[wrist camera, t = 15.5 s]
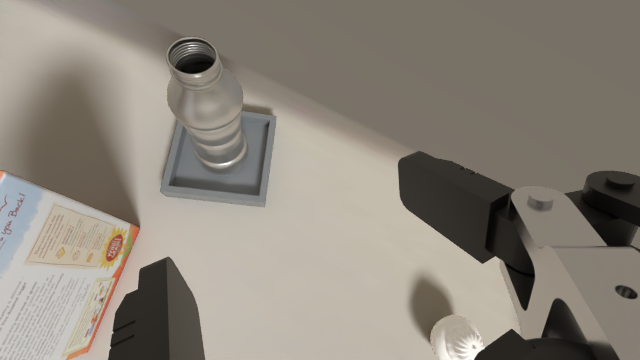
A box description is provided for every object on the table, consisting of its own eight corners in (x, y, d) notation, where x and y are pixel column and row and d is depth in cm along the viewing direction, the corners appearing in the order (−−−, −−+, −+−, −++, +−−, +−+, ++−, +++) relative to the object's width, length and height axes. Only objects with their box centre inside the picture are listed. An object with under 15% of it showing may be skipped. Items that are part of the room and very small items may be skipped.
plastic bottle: (195, 139, 42) (139, 23, 23) (246, 132, 43) (232, 19, 24) (201, 183, 40) (145, 97, 21) (253, 175, 41) (244, 88, 23)
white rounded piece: (416, 359, 38) (448, 375, 32) (421, 307, 40) (452, 312, 34) (462, 369, 39) (502, 387, 32) (464, 317, 41) (502, 324, 34)
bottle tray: (165, 196, 39) (159, 191, 37) (186, 111, 43) (182, 101, 41) (264, 207, 41) (264, 202, 39) (275, 124, 45) (276, 116, 43)
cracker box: (93, 215, 37) (-98, 141, 17) (143, 227, 38) (13, 169, 18) (29, 342, 32) (-331, 435, 13) (88, 354, 33) (-169, 461, 13)
